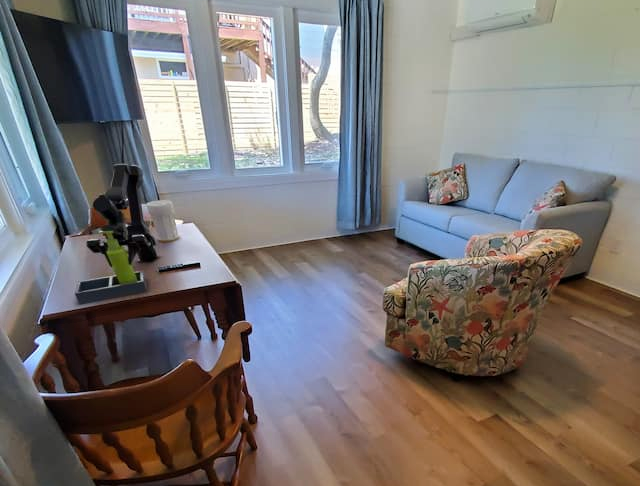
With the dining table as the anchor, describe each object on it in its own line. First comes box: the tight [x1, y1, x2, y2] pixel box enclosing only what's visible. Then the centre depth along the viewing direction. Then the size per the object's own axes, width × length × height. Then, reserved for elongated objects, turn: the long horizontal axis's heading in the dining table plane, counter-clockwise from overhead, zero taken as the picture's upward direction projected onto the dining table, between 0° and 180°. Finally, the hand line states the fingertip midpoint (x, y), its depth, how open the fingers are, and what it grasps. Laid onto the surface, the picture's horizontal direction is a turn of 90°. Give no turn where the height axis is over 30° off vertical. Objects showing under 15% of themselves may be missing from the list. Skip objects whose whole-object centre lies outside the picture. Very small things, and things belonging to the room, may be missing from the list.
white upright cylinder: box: [145, 199, 180, 243], centre depth 192 cm, size 11×11×17 cm
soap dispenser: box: [96, 230, 138, 285], centre depth 141 cm, size 6×7×20 cm
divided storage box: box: [74, 270, 148, 305], centre depth 145 cm, size 11×22×4 cm, turn 116°
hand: (120, 265), depth 142 cm, fingers closed on soap dispenser, 6 cm apart
